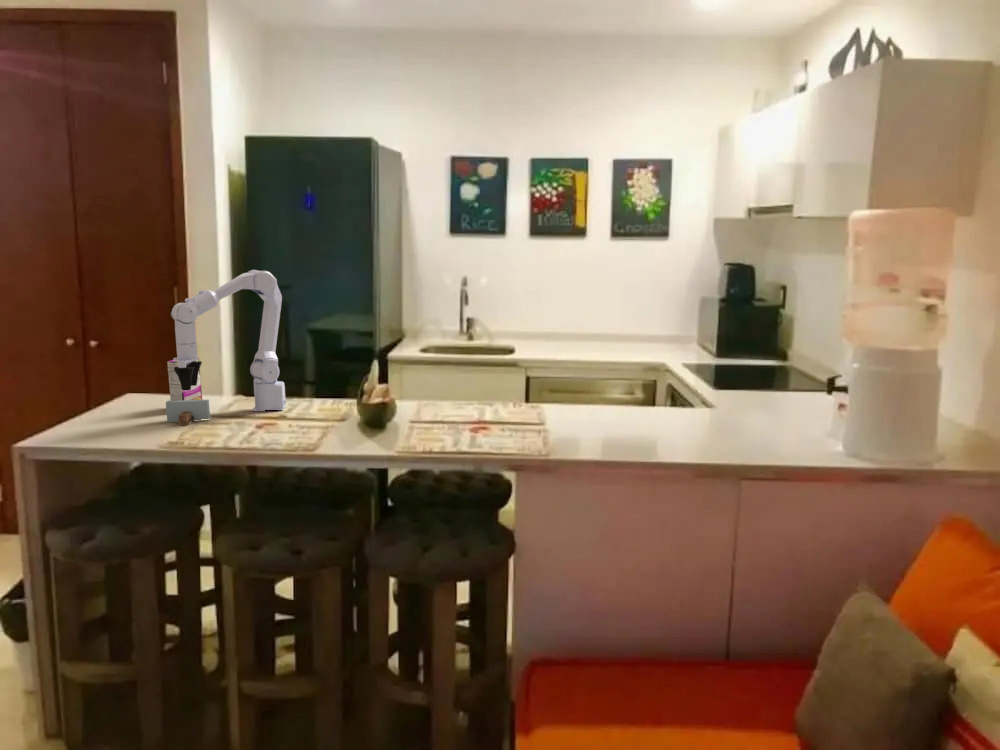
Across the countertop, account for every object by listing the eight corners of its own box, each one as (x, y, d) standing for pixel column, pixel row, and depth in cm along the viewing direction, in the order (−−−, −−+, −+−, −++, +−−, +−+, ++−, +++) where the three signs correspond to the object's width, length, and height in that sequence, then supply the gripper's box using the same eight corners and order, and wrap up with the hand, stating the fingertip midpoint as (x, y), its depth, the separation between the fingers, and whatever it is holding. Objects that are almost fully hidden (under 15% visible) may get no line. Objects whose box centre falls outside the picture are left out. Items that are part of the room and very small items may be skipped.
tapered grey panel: (210, 418, 262) (208, 399, 261) (208, 420, 260) (207, 401, 259) (169, 420, 261) (167, 400, 260) (167, 421, 258) (165, 402, 257)
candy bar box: (189, 404, 283) (185, 355, 281) (203, 405, 282) (199, 355, 280) (170, 412, 272) (166, 360, 270) (184, 412, 272) (180, 361, 269)
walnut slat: (198, 415, 267) (198, 405, 267) (187, 425, 254) (186, 415, 253) (190, 415, 267) (190, 406, 267) (179, 425, 253) (178, 415, 253)
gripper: (178, 340, 264) (182, 383, 266) (166, 346, 250) (169, 392, 252) (202, 339, 265) (205, 383, 267) (191, 346, 251) (194, 391, 253)
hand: (189, 387), depth 260 cm, fingers open, 7 cm apart
